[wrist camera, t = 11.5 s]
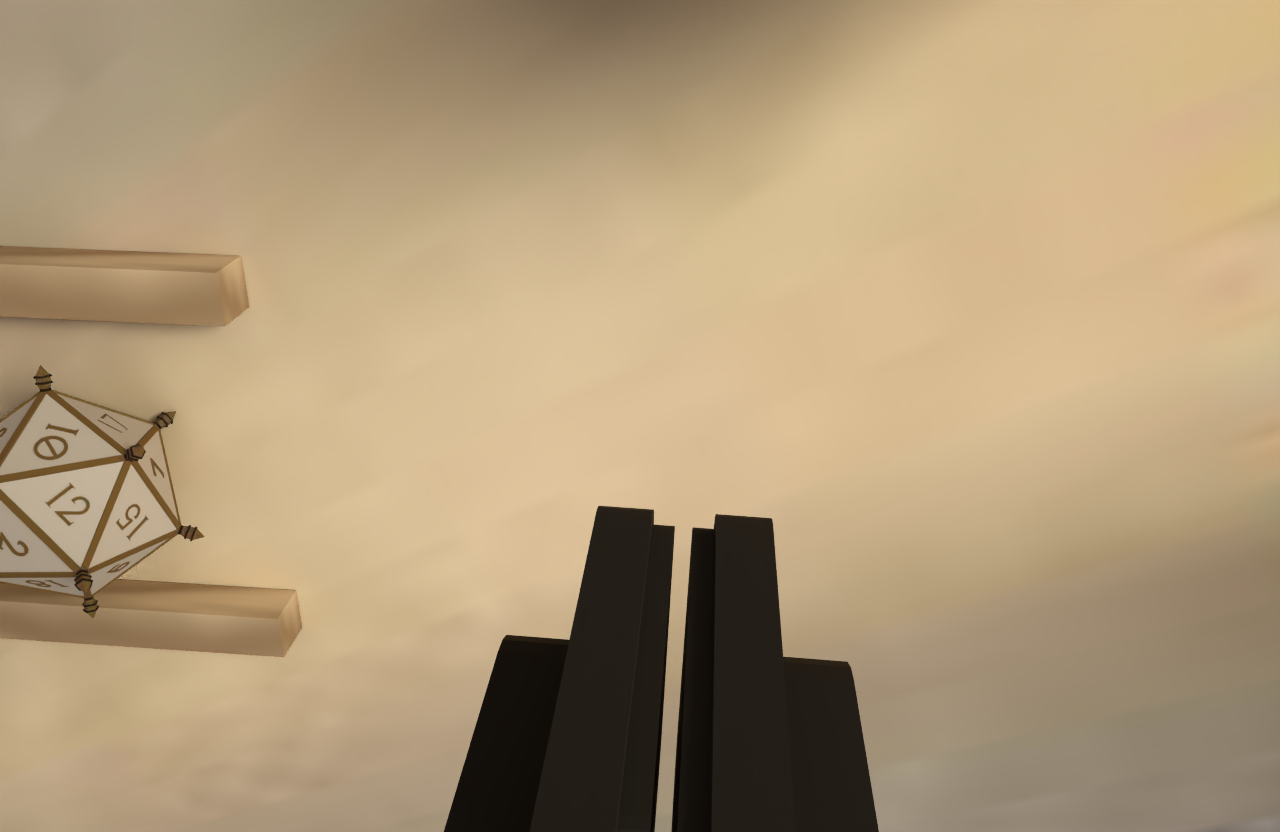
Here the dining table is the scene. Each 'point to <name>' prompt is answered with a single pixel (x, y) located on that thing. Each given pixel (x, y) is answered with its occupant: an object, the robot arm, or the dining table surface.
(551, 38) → the dining table surface
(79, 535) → the game die
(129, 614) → the u-shaped tan bracket
